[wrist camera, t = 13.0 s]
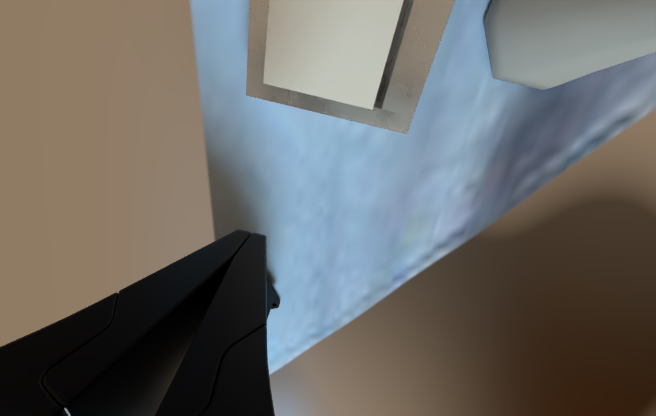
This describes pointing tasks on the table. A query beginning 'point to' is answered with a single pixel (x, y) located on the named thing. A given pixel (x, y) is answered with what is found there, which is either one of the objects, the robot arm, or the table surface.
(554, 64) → the flask
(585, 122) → the table surface
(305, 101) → the socket
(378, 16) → the plug
